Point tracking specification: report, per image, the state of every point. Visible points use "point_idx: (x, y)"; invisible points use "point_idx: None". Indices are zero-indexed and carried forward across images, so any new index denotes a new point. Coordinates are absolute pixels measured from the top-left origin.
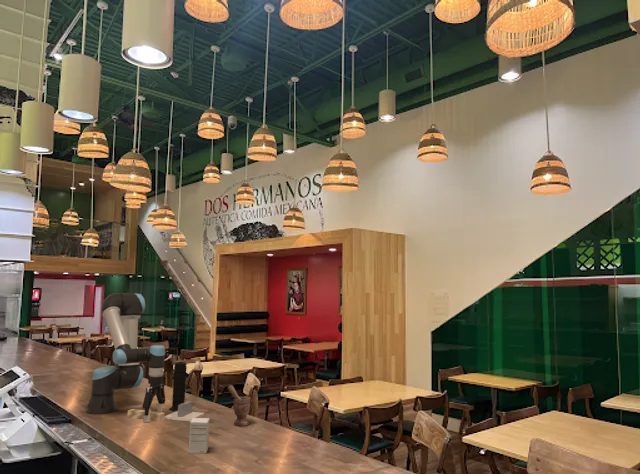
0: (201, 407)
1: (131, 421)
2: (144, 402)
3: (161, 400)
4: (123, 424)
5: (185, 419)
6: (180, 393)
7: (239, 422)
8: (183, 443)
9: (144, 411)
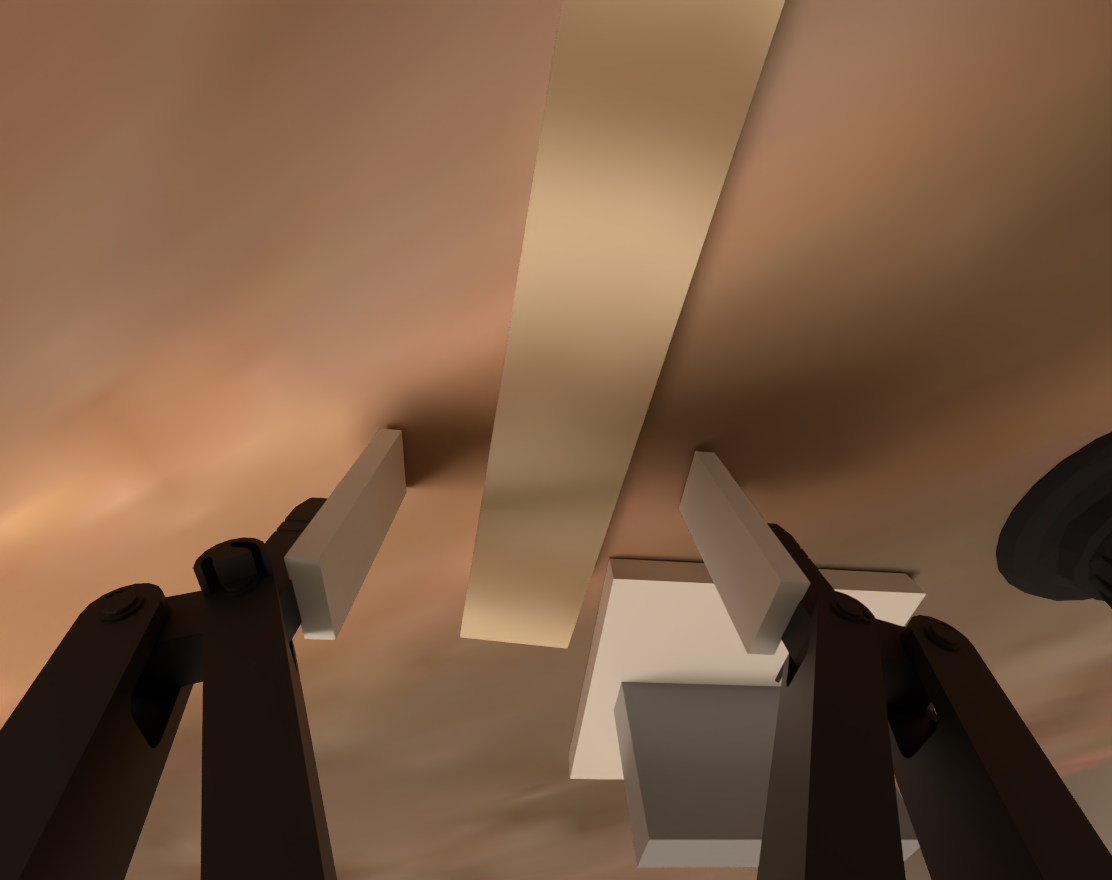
0: None
1: (347, 206)
2: (23, 748)
3: (778, 723)
4: (108, 167)
5: (577, 732)
6: None
7: None
8: None
9: (581, 359)
